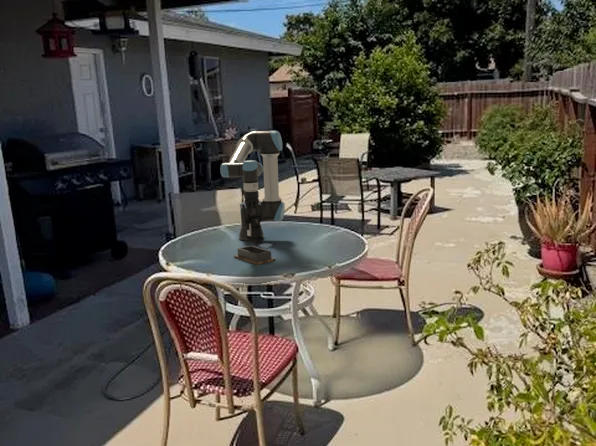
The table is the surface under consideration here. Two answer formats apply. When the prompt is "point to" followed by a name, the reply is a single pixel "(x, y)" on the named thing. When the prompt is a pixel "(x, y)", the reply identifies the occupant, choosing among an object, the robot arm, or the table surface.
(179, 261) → the table surface
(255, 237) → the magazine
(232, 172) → the robot arm
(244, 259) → the board
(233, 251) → the table surface
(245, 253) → the cradle
